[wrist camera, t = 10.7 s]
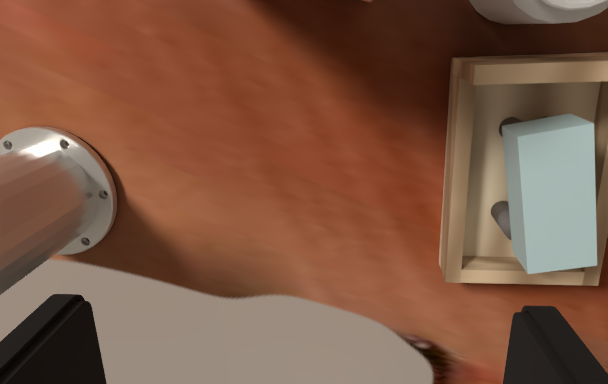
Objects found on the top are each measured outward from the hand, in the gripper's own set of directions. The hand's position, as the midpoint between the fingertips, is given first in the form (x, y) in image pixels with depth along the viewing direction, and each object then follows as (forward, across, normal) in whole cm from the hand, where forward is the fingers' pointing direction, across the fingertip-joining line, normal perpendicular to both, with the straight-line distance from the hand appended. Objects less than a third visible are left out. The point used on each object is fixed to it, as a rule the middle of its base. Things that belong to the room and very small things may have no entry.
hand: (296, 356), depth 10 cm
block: (+25, -16, +4) cm, 30 cm away
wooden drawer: (+30, -16, +4) cm, 34 cm away
